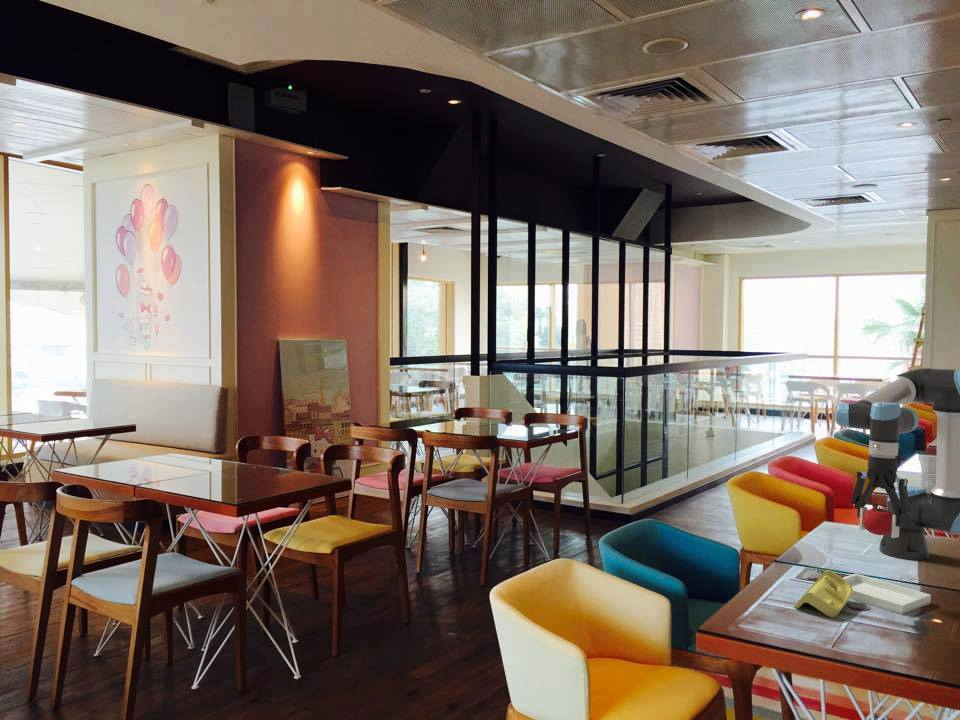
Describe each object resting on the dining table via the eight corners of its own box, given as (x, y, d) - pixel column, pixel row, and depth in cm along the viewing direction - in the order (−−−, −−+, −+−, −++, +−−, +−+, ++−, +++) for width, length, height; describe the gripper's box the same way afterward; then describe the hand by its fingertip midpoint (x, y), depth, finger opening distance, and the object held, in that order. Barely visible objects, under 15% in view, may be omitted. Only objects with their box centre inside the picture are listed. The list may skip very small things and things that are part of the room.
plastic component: (839, 611, 209) (804, 588, 214) (825, 632, 212) (791, 609, 217) (856, 587, 225) (823, 566, 230) (844, 607, 227) (811, 585, 232)
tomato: (868, 537, 225) (869, 509, 224) (856, 529, 233) (858, 502, 233) (900, 539, 224) (902, 511, 223) (887, 531, 232) (889, 504, 232)
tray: (855, 581, 241) (855, 573, 241) (930, 603, 224) (931, 594, 224) (826, 590, 232) (826, 582, 232) (902, 614, 214) (902, 605, 214)
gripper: (840, 451, 234) (836, 526, 235) (914, 462, 217) (909, 544, 218) (854, 449, 239) (850, 523, 240) (928, 460, 221) (923, 540, 222)
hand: (878, 533), depth 229 cm, fingers closed on tomato, 9 cm apart
